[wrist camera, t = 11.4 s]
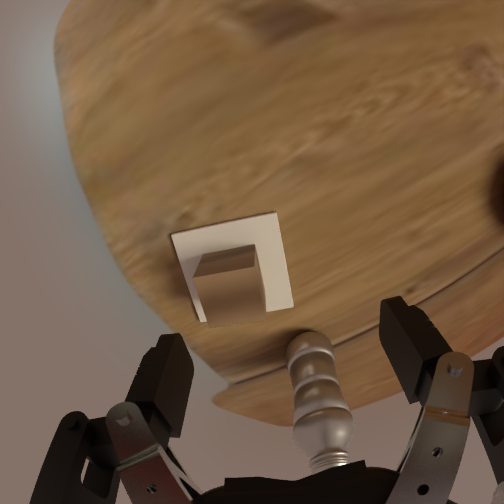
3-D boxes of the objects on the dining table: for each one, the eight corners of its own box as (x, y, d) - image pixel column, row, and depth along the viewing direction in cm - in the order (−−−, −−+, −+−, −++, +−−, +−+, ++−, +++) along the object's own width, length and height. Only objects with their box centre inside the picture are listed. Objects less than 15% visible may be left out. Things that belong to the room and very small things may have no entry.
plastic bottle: (339, 334, 37) (381, 459, 19) (311, 366, 39) (334, 487, 21) (301, 318, 36) (329, 454, 18) (274, 352, 38) (282, 483, 20)
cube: (203, 254, 32) (192, 277, 27) (254, 244, 32) (254, 266, 26) (216, 299, 35) (209, 328, 29) (265, 290, 34) (266, 319, 28)
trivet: (172, 233, 32) (171, 235, 32) (276, 211, 31) (276, 212, 31) (201, 319, 37) (200, 322, 36) (293, 304, 35) (293, 306, 35)
